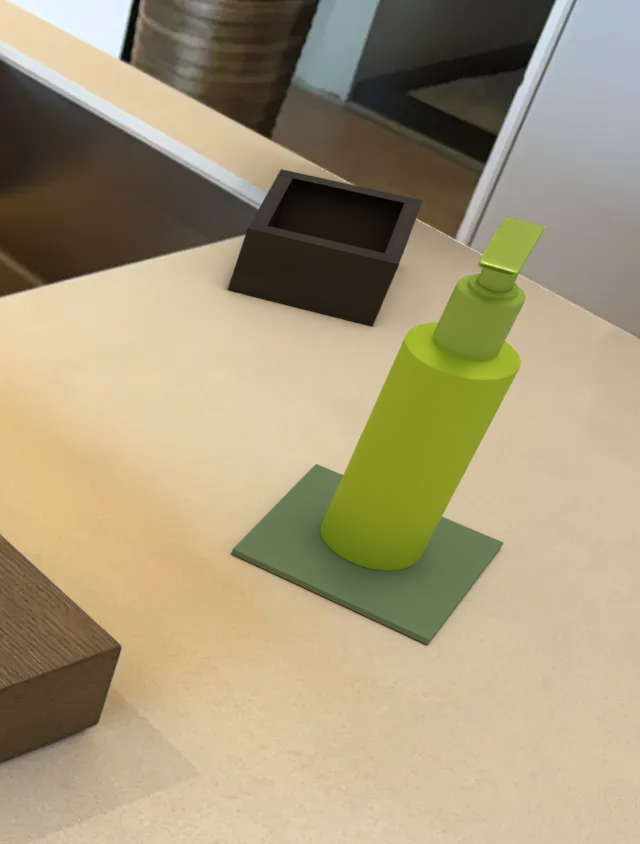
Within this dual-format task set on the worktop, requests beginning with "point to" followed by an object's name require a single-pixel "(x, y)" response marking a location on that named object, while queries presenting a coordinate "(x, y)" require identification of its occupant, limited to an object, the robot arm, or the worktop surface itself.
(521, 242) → the soap dispenser
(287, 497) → the mat
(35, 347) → the worktop surface
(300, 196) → the box
